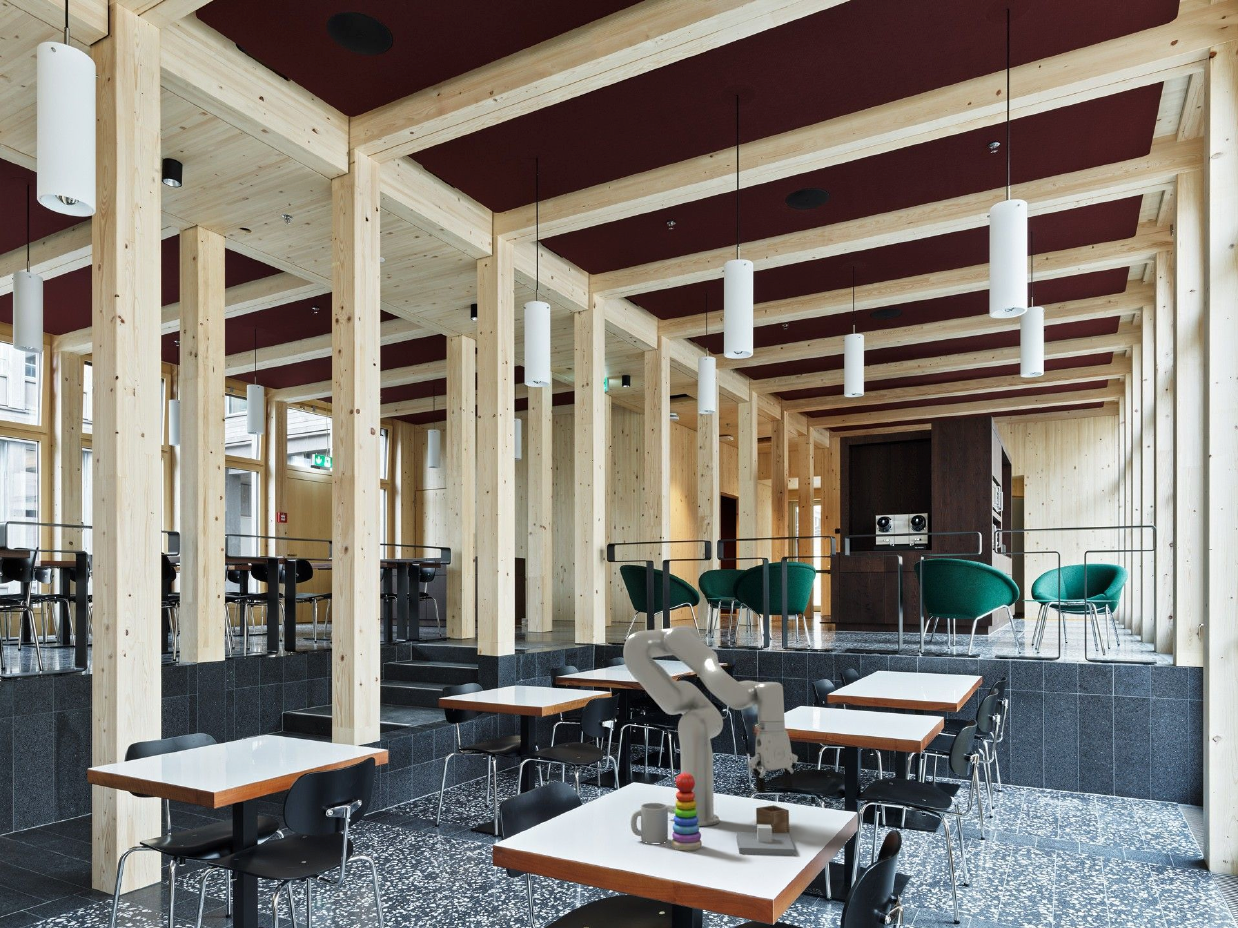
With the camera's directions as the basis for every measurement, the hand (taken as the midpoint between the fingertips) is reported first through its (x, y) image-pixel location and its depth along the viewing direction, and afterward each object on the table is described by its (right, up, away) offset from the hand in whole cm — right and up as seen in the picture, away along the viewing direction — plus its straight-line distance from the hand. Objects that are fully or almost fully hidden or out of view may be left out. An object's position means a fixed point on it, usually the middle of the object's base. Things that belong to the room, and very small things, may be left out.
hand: (774, 789), depth 243 cm
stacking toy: (-26, -9, -17) cm, 32 cm away
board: (-6, -9, -16) cm, 19 cm away
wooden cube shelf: (-1, -11, -1) cm, 11 cm away
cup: (-36, -10, -11) cm, 39 cm away
